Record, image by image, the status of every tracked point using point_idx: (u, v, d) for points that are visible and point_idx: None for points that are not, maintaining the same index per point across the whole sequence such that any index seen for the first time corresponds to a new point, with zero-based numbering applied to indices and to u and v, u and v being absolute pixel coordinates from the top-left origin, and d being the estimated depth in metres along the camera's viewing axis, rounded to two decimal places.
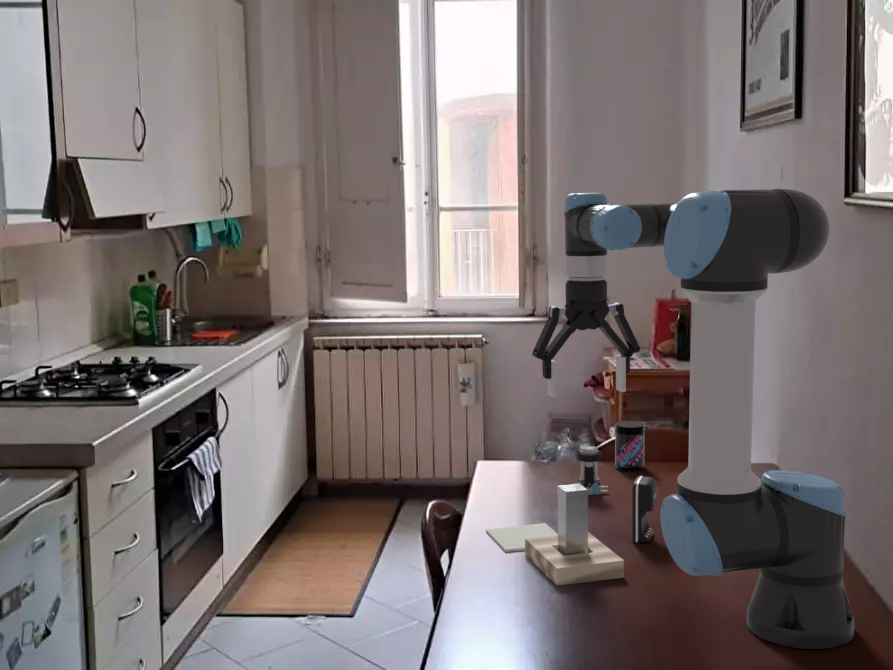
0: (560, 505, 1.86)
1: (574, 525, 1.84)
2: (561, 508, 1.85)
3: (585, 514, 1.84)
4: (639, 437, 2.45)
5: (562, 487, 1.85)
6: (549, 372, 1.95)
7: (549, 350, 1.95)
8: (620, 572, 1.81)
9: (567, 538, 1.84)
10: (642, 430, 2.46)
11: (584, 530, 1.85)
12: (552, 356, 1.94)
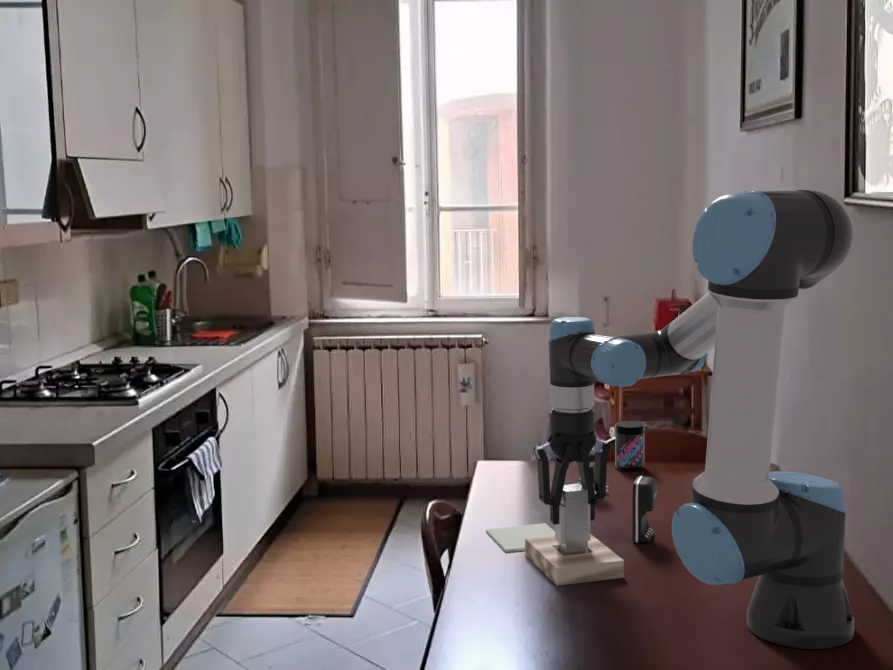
0: None
1: (574, 525, 1.84)
2: None
3: (585, 514, 1.84)
4: (639, 437, 2.45)
5: None
6: (557, 517, 1.85)
7: (553, 495, 1.84)
8: (620, 572, 1.81)
9: (567, 538, 1.84)
10: (642, 430, 2.46)
11: (584, 530, 1.85)
12: (559, 500, 1.84)
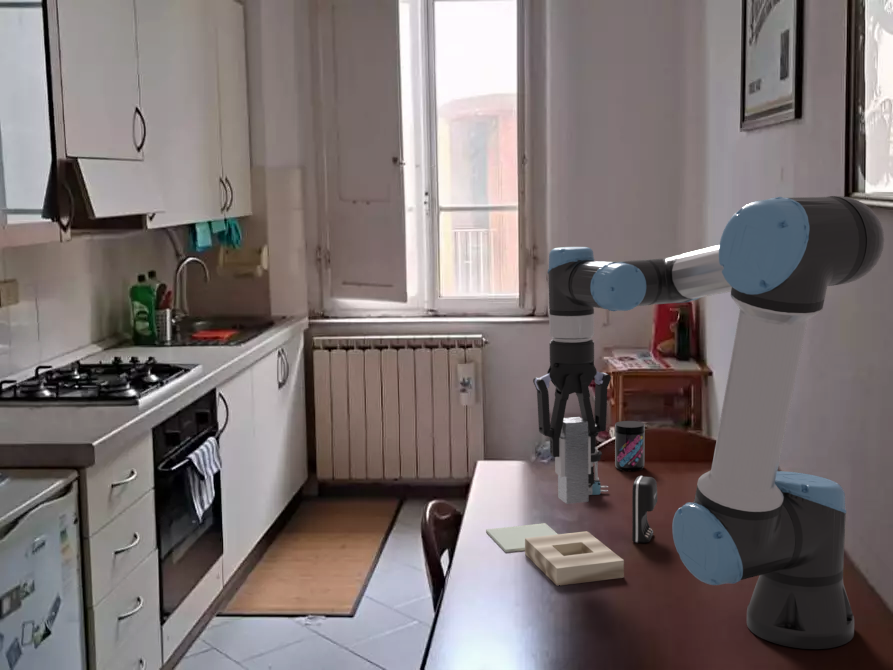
0: None
1: (574, 457, 1.82)
2: None
3: (585, 447, 1.83)
4: (639, 437, 2.45)
5: None
6: (557, 450, 1.83)
7: (553, 427, 1.82)
8: (620, 572, 1.81)
9: (567, 470, 1.82)
10: (642, 430, 2.46)
11: (584, 463, 1.83)
12: (559, 432, 1.82)
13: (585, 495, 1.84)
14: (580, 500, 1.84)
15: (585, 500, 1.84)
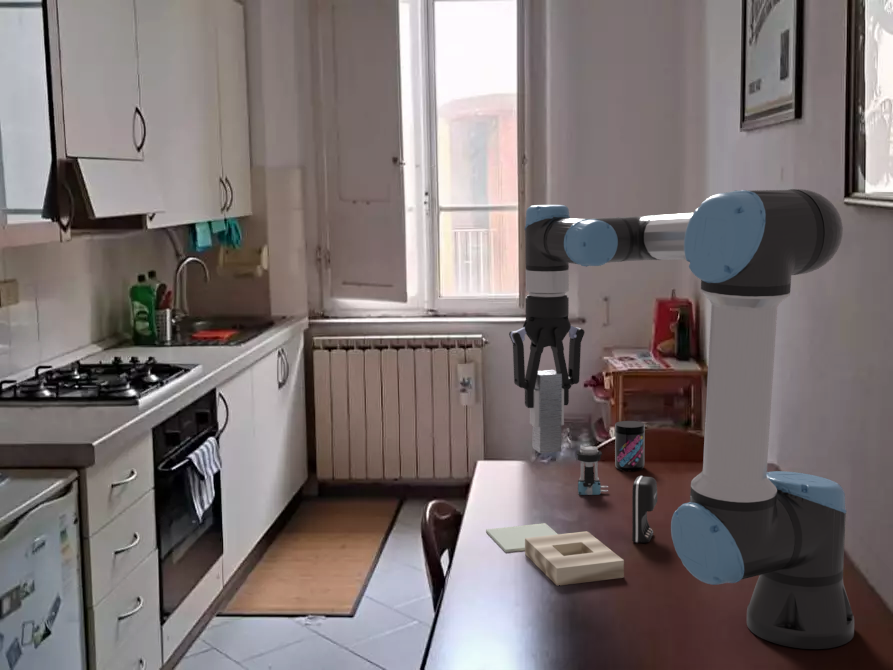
0: None
1: (548, 408, 1.89)
2: None
3: (559, 398, 1.89)
4: (639, 437, 2.45)
5: None
6: (531, 401, 1.89)
7: (528, 379, 1.89)
8: (620, 572, 1.81)
9: (541, 421, 1.89)
10: (642, 430, 2.46)
11: (558, 414, 1.89)
12: (533, 383, 1.88)
13: (558, 445, 1.90)
14: (553, 450, 1.90)
15: (558, 450, 1.91)
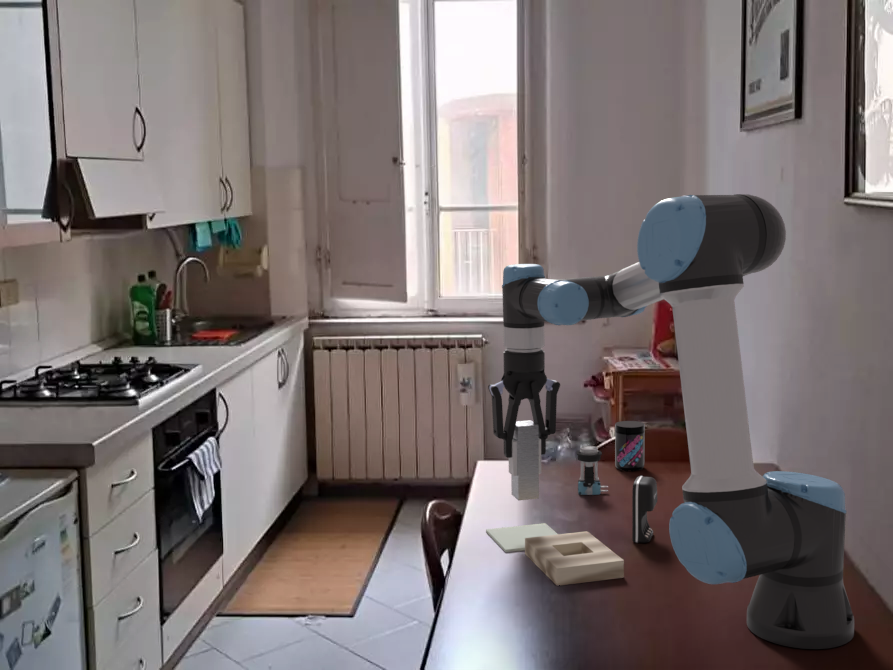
0: None
1: (526, 458, 1.98)
2: None
3: (536, 448, 1.98)
4: (639, 437, 2.45)
5: None
6: (510, 451, 1.98)
7: (506, 430, 1.97)
8: (620, 572, 1.81)
9: (519, 469, 1.98)
10: (642, 430, 2.46)
11: (535, 463, 1.98)
12: (512, 434, 1.97)
13: (536, 492, 1.99)
14: (531, 497, 1.99)
15: (536, 497, 1.99)
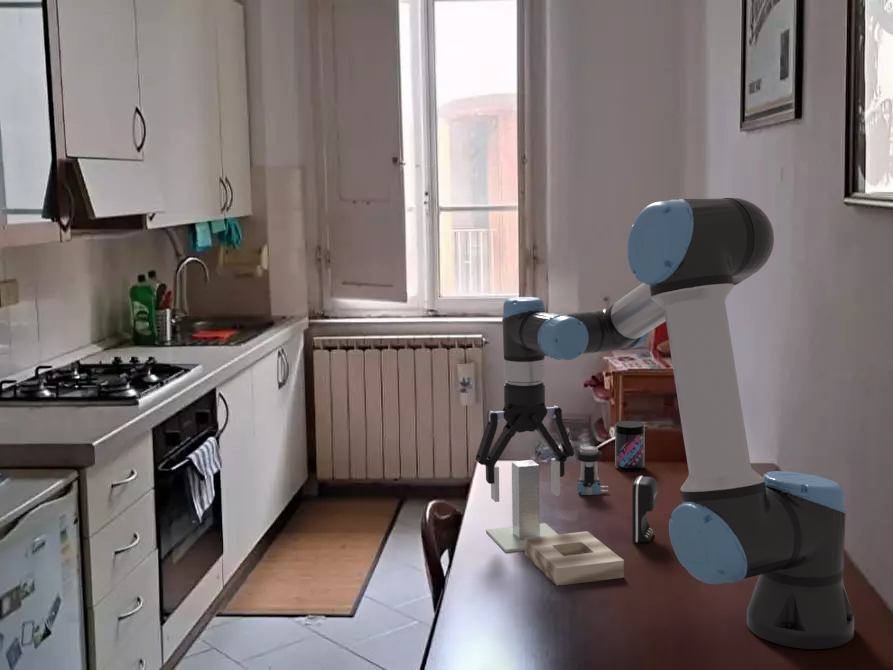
0: (514, 480, 2.00)
1: (527, 498, 1.99)
2: (515, 482, 2.00)
3: (537, 488, 1.99)
4: (639, 437, 2.45)
5: (516, 463, 2.00)
6: (492, 477, 1.98)
7: (491, 455, 1.97)
8: (620, 572, 1.81)
9: (520, 510, 1.99)
10: (642, 430, 2.46)
11: (536, 503, 1.99)
12: (495, 461, 1.97)
13: (537, 532, 2.00)
14: None
15: None
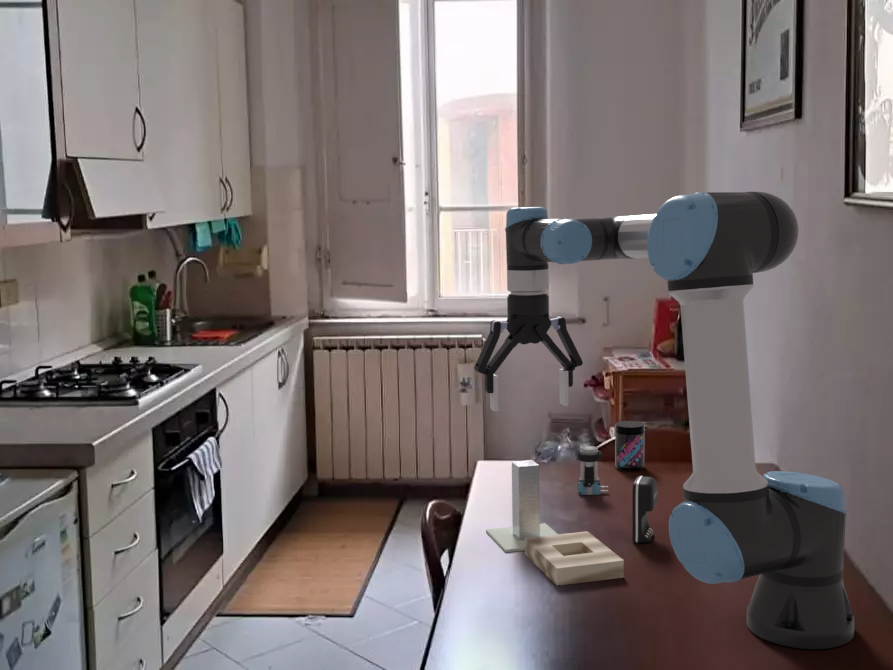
0: (514, 480, 2.00)
1: (527, 498, 1.99)
2: (515, 482, 2.00)
3: (537, 488, 1.99)
4: (639, 437, 2.45)
5: (516, 463, 2.00)
6: (491, 386, 1.95)
7: (491, 364, 1.95)
8: (620, 572, 1.81)
9: (520, 510, 1.99)
10: (642, 430, 2.46)
11: (536, 503, 1.99)
12: (494, 370, 1.94)
13: (537, 532, 2.00)
14: None
15: None
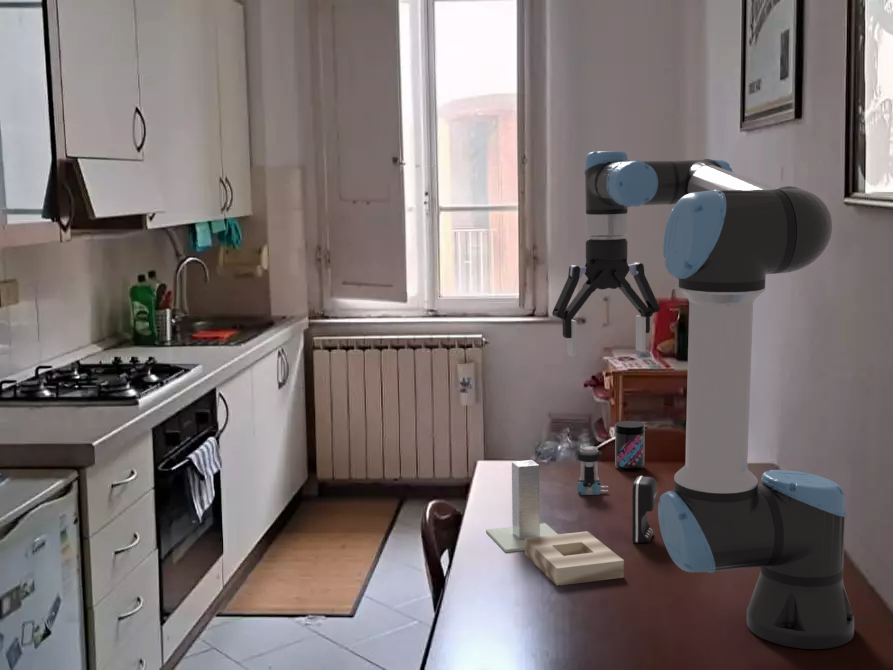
0: (514, 480, 2.00)
1: (527, 498, 1.99)
2: (515, 482, 2.00)
3: (537, 488, 1.99)
4: (639, 437, 2.45)
5: (516, 463, 2.00)
6: (569, 331, 1.95)
7: (569, 309, 1.94)
8: (620, 572, 1.81)
9: (520, 510, 1.99)
10: (642, 430, 2.46)
11: (536, 503, 1.99)
12: (572, 315, 1.94)
13: (537, 532, 2.00)
14: None
15: None
